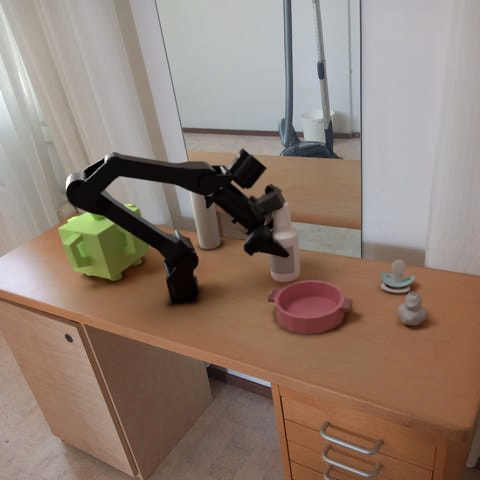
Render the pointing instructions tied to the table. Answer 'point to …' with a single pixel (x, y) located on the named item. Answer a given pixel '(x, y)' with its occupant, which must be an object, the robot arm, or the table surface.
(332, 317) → the pot
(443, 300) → the table surface
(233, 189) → the robot arm
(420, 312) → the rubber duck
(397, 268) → the pacifier
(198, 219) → the paper towel roll
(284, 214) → the spray bottle
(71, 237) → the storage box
